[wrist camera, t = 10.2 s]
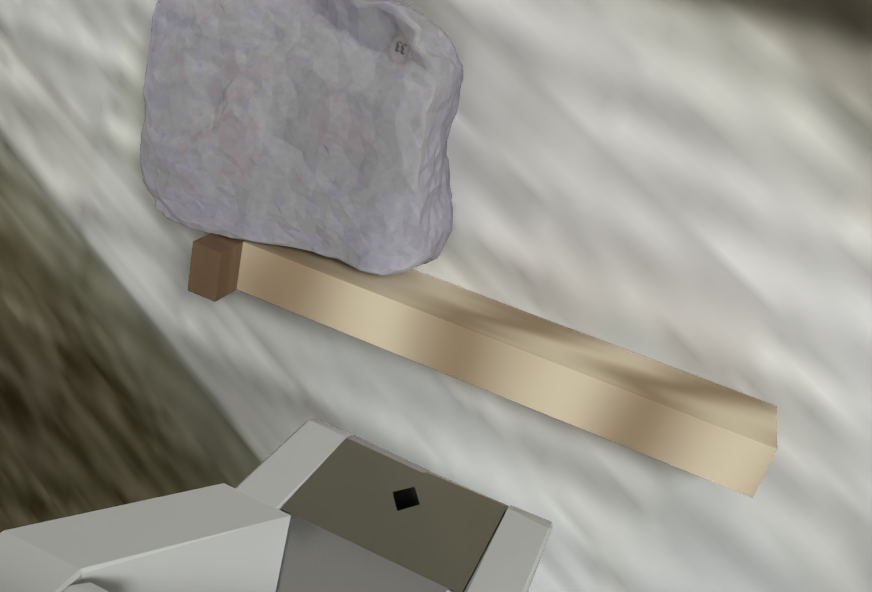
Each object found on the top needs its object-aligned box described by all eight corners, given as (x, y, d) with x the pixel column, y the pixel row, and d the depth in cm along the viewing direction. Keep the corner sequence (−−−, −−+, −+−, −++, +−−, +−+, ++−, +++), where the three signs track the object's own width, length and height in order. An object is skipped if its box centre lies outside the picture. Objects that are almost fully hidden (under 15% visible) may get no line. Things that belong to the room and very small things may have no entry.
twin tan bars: (1006, -67, 22) (1056, -76, 18) (754, 452, 30) (751, 522, 26) (322, -224, 27) (248, -257, 23) (252, 256, 35) (187, 290, 31)
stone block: (214, -35, 33) (186, 212, 35) (138, -66, 29) (112, 219, 31) (501, 5, 30) (451, 273, 32) (467, -23, 26) (412, 291, 28)
